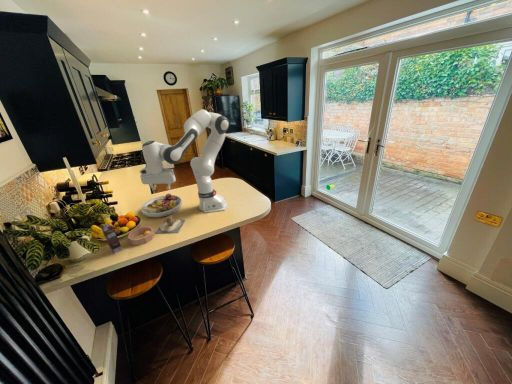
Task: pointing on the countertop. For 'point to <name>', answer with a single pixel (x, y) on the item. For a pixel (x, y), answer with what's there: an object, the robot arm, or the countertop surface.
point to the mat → (171, 231)
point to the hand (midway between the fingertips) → (161, 189)
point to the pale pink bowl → (170, 224)
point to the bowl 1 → (139, 231)
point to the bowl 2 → (161, 206)
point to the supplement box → (111, 238)
